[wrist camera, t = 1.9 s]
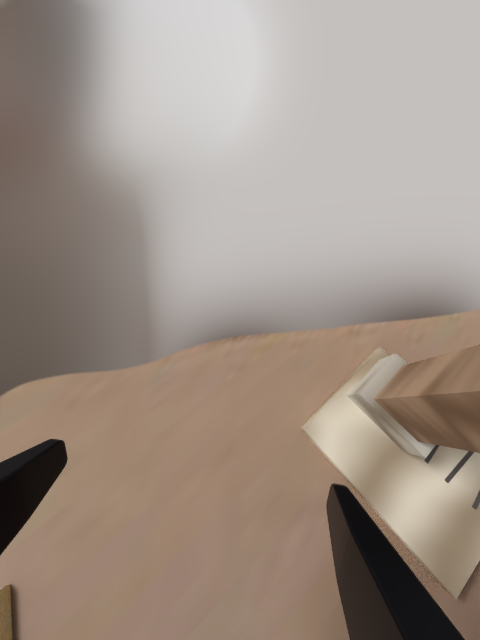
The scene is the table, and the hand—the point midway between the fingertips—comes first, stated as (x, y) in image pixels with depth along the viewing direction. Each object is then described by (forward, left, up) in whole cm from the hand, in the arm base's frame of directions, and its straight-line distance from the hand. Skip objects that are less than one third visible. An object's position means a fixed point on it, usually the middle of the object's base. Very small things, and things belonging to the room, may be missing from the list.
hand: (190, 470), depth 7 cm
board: (-11, -11, -15) cm, 21 cm away
